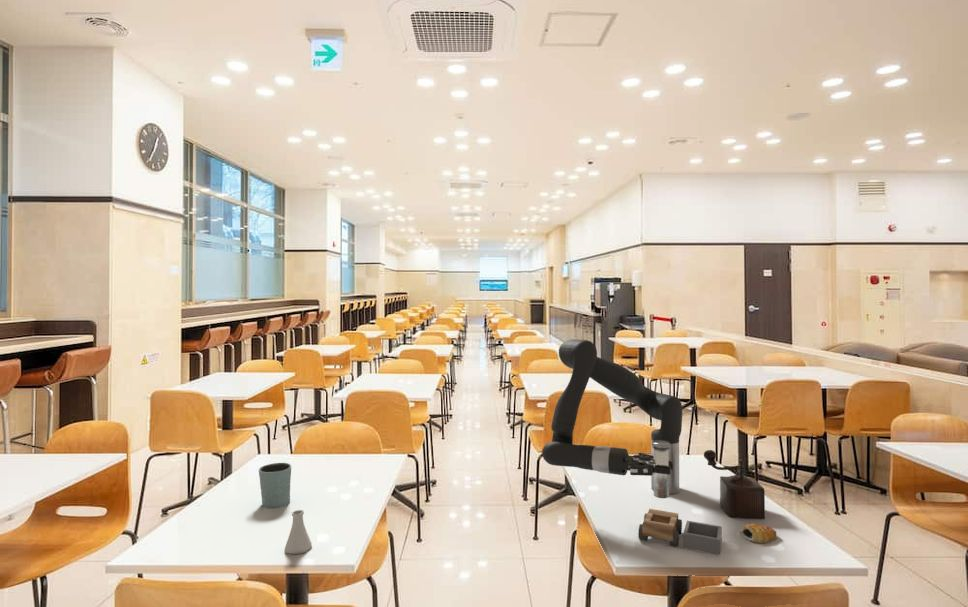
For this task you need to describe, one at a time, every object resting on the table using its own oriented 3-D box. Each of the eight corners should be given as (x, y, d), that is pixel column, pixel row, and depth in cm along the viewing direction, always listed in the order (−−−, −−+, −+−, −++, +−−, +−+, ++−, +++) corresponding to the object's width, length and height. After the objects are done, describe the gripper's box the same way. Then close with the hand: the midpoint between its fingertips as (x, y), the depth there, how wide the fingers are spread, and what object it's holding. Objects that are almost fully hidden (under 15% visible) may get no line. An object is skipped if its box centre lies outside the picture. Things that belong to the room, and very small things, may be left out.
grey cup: (280, 510, 169) (280, 473, 169) (252, 508, 171) (251, 471, 171) (297, 498, 179) (297, 463, 179) (271, 496, 181) (270, 461, 181)
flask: (315, 542, 147) (315, 506, 147) (307, 554, 140) (307, 517, 140) (289, 542, 147) (288, 507, 147) (280, 555, 140) (279, 517, 140)
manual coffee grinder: (752, 505, 171) (752, 449, 170) (765, 519, 160) (765, 460, 160) (702, 503, 173) (701, 448, 173) (711, 517, 162) (711, 458, 162)
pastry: (764, 530, 153) (764, 517, 152) (783, 541, 146) (784, 527, 146) (737, 535, 150) (737, 522, 150) (756, 546, 144) (756, 532, 143)
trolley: (645, 521, 159) (645, 505, 159) (682, 528, 154) (682, 511, 154) (636, 541, 146) (636, 523, 146) (676, 549, 142) (676, 530, 141)
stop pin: (653, 491, 152) (653, 439, 152) (671, 493, 150) (670, 441, 150) (651, 497, 148) (650, 444, 148) (669, 500, 146) (668, 446, 145)
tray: (687, 534, 150) (686, 520, 150) (721, 540, 146) (721, 526, 146) (683, 548, 142) (683, 533, 142) (720, 555, 138) (720, 539, 138)
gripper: (603, 454, 149) (667, 462, 141) (615, 441, 162) (674, 447, 154) (604, 480, 149) (668, 490, 141) (615, 465, 162) (675, 473, 154)
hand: (671, 467), depth 148 cm, fingers closed on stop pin, 4 cm apart
